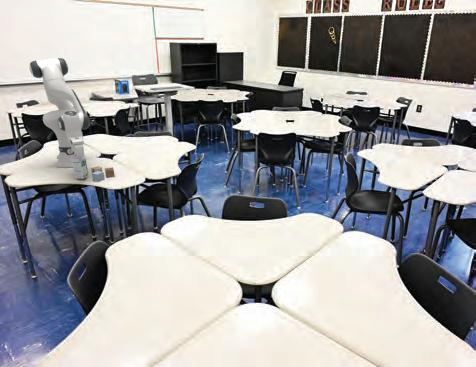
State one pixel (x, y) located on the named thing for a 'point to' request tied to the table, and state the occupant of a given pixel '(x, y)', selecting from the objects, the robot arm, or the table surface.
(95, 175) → the slate blue cube
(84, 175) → the syrup box
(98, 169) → the maple cube
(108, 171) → the walnut cube
